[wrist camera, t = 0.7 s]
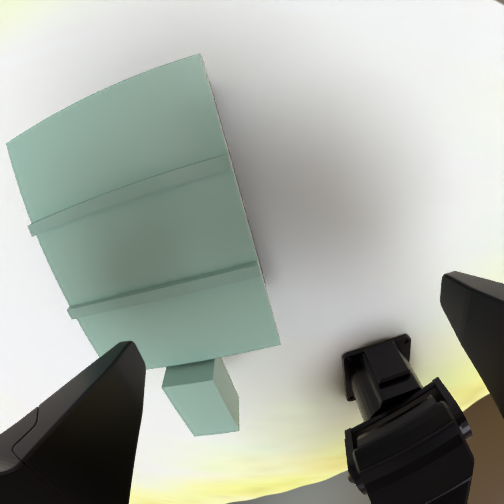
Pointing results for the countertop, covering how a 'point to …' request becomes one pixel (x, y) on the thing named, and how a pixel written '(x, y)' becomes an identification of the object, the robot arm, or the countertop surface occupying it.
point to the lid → (151, 233)
